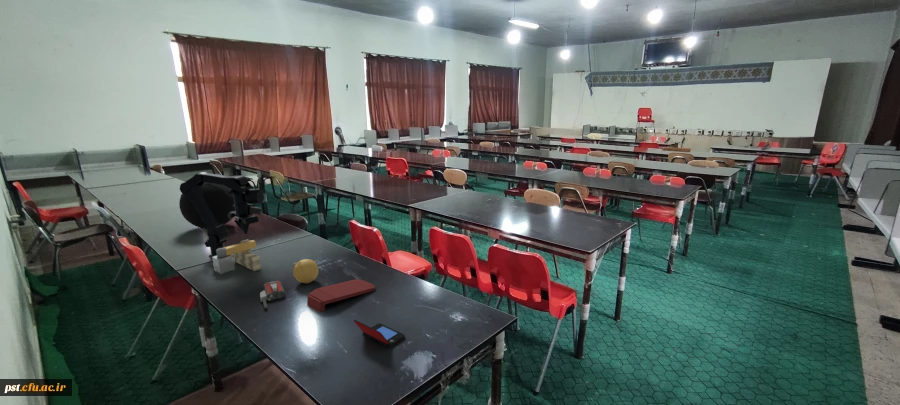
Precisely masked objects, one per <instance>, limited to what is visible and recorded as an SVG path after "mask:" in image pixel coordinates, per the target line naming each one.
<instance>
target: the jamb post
mask: <svg viewBox="0 0 900 405" xmlns="http://www.w3.org/2000/svg"><path fill="white" fill-rule="evenodd" d="M233 256H234V255H233V254H230V255H227V256H225V257H217V256H213V257H212V258H211V259H212V264H213V270H214V271H215V272H216V273H218V274H220V275H222V274H225V273H229V272H232V271H234V270H236V269H235V264H234V257H233Z"/></svg>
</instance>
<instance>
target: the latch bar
mask: <svg viewBox="0 0 900 405" xmlns="http://www.w3.org/2000/svg"><path fill="white" fill-rule="evenodd" d="M256 242H257V241H255V240H254V239H252V240H250V239H249V241H247V242H243V243H241V242H240V243H235V244H232V245H228V246H224V248H219V249H217V250H216V253H217V257H225V256H227V255H234V253H238V252H241V251H245V250H248V249H251V250H252V249H255V248H257V243H256Z"/></svg>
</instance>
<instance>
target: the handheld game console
mask: <svg viewBox="0 0 900 405" xmlns="http://www.w3.org/2000/svg"><path fill="white" fill-rule="evenodd" d="M353 322H354V323H355V324H356V325H355V326H357V327H358V328H359V329H360V331H361V332H362V336H364V337H366V338H369V339H370V340H373V341H376V342H377V343H378V344H380V345H382V346H384V347H385V348H388V349H390V348H392V347H393V346H394V345H396V344H398V343H400V342H401V341H402V340H403V339H405V338H406V337H405V334H404V333H401V332H400V331H397V330H396V329H393V328H391V327H389V326H387V325H385V324H383V323H376V324H375V325H373V326H369V325H367V324H364V323H362V322H361V321H358V320H356V319H354V320H353Z"/></svg>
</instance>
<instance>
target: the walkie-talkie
mask: <svg viewBox="0 0 900 405" xmlns="http://www.w3.org/2000/svg"><path fill="white" fill-rule="evenodd" d="M285 297H286V291H285V289H284V286H283V283H282V281H281V280H278V279H276V280H272V281H271V280H270V281H268V282H265V283H264V284H263V285H262V290H261V292H260V293H259V299H260V303H262V304H263V308H264V309H268V304H267V302H268V301H269V302H270V301H273V300H277V299H279V300H281V299H282V298H285Z"/></svg>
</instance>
